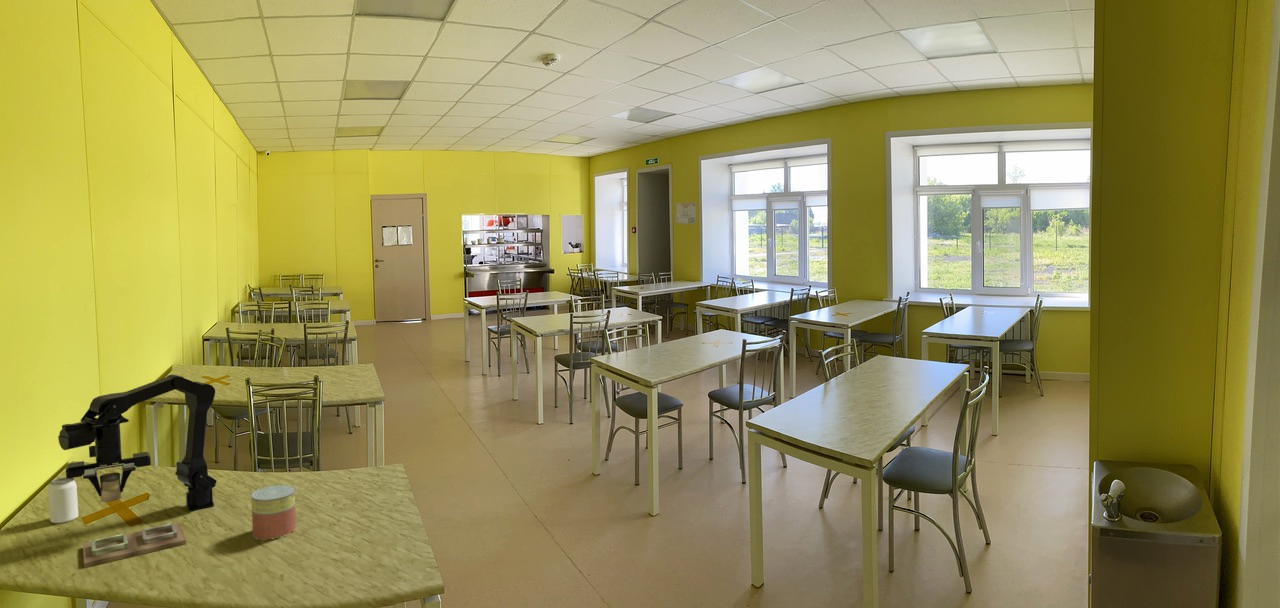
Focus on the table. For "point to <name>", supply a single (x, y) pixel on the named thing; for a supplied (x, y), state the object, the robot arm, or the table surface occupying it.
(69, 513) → the can
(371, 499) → the table surface
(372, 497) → the table surface
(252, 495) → the canned food
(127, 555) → the board
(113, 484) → the cylinder
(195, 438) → the robot arm
